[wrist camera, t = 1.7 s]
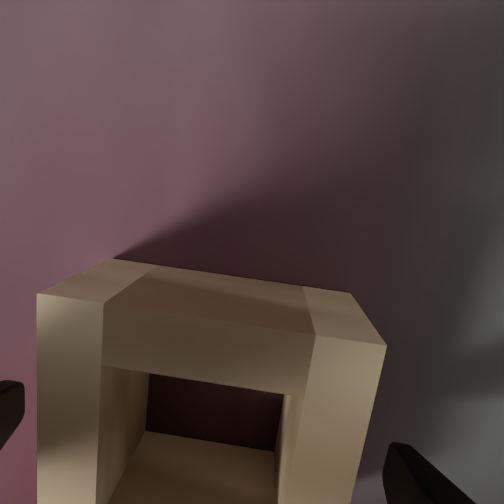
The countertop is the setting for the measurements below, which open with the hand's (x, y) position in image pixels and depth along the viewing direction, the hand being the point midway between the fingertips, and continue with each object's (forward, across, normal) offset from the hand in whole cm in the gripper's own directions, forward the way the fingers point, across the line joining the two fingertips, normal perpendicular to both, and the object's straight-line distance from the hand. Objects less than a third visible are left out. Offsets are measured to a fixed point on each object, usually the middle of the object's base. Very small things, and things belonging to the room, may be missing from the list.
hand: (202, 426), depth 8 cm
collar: (+2, 0, 0) cm, 2 cm away
